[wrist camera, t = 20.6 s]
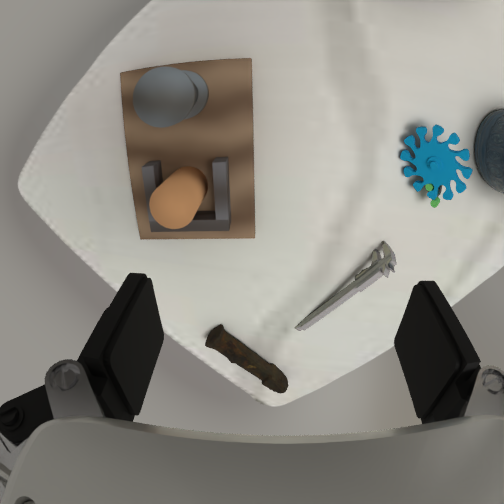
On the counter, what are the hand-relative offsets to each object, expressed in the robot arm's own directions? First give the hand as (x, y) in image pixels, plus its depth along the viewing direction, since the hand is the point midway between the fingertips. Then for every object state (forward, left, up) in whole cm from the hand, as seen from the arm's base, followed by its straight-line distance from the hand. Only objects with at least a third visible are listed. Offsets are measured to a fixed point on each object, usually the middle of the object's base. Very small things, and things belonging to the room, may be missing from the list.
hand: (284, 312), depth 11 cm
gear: (+1, +21, -31) cm, 38 cm away
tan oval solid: (+4, -10, -29) cm, 31 cm away
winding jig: (0, -10, -31) cm, 33 cm away
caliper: (+21, +11, -32) cm, 40 cm away
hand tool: (+36, -2, -32) cm, 48 cm away
